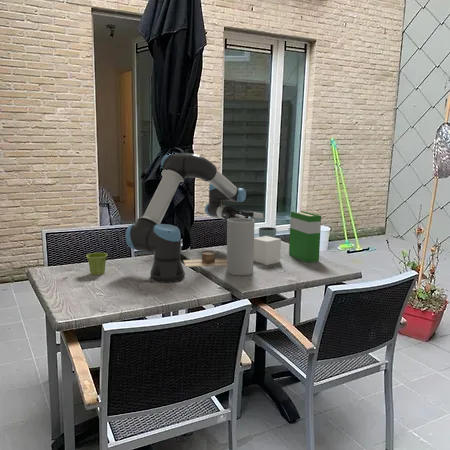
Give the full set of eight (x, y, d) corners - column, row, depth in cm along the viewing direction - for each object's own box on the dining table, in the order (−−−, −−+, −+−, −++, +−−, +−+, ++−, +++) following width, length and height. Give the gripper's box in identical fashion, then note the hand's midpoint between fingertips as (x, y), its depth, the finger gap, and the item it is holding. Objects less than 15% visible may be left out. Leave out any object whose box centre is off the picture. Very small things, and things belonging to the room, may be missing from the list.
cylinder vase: (221, 272, 212) (221, 219, 207) (238, 267, 221) (239, 216, 216) (241, 278, 203) (242, 223, 199) (258, 272, 212) (260, 220, 208)
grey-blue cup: (257, 250, 258) (257, 229, 256) (259, 246, 268) (259, 226, 265) (275, 251, 256) (275, 230, 254) (276, 247, 266) (276, 227, 264)
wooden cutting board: (234, 266, 223) (234, 264, 223) (186, 267, 218) (186, 266, 218) (229, 259, 236) (229, 258, 236) (183, 261, 231) (183, 260, 231)
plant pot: (102, 277, 202) (101, 258, 200) (83, 275, 203) (82, 256, 202) (111, 271, 211) (111, 253, 209) (93, 270, 212) (92, 252, 211)
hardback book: (288, 254, 248) (290, 211, 244) (300, 253, 251) (302, 210, 247) (306, 262, 233) (309, 216, 228) (318, 261, 235) (321, 215, 231)
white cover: (280, 261, 233) (280, 239, 231) (266, 265, 226) (266, 241, 224) (265, 257, 240) (266, 235, 238) (251, 261, 233) (252, 238, 231)
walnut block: (214, 262, 227) (214, 253, 226) (207, 264, 224) (207, 255, 223) (208, 260, 230) (209, 252, 229) (201, 262, 227) (201, 253, 226)
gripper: (242, 217, 261) (269, 222, 245) (209, 221, 245) (235, 227, 229) (242, 204, 260) (270, 208, 244) (209, 207, 243) (236, 212, 228)
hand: (253, 217), depth 237 cm, fingers open, 13 cm apart
